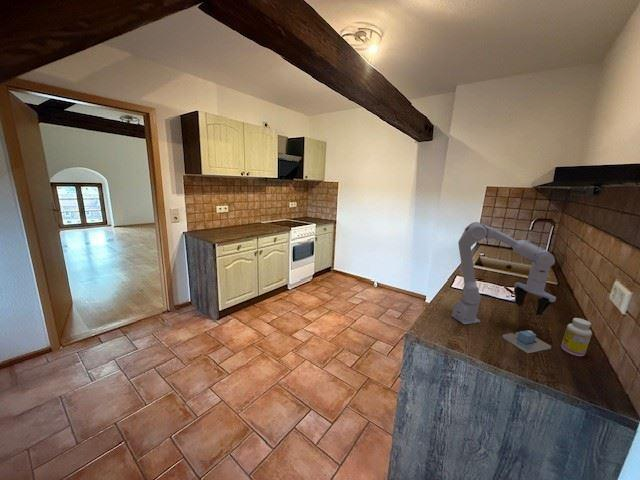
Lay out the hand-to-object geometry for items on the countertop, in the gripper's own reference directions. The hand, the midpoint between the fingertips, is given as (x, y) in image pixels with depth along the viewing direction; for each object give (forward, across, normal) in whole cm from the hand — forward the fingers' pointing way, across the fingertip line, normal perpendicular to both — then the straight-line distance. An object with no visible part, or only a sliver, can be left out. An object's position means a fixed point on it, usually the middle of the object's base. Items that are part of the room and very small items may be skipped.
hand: (529, 309), depth 106 cm
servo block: (+10, -6, +7) cm, 14 cm away
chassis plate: (+10, -6, +7) cm, 14 cm away
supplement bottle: (+11, -14, -6) cm, 19 cm away
